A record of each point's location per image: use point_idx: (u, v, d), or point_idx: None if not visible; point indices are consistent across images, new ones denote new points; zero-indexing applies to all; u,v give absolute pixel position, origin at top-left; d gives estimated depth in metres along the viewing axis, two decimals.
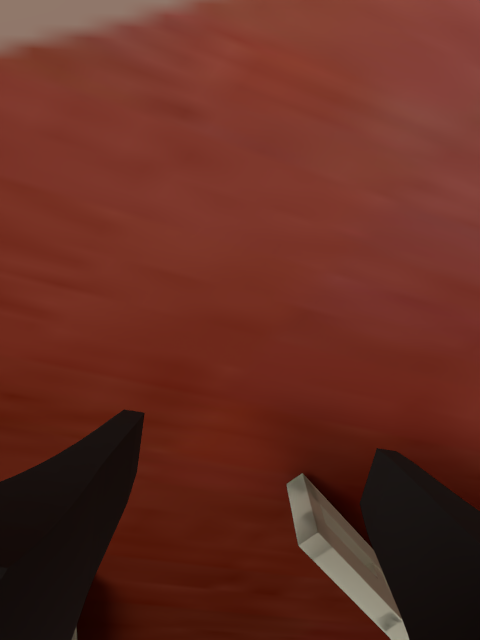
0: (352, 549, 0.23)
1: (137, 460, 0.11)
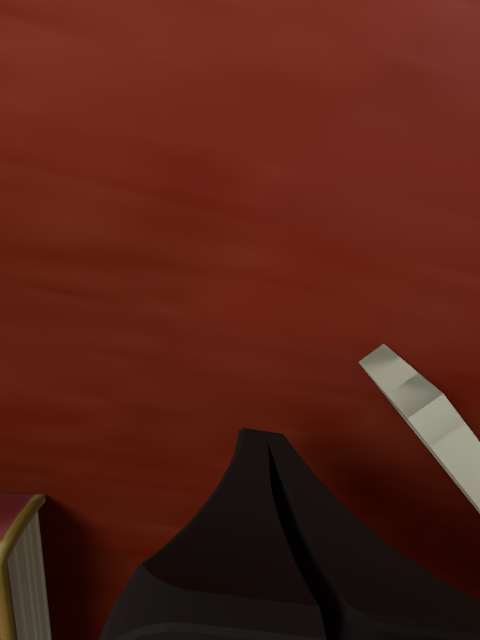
0: None
1: None
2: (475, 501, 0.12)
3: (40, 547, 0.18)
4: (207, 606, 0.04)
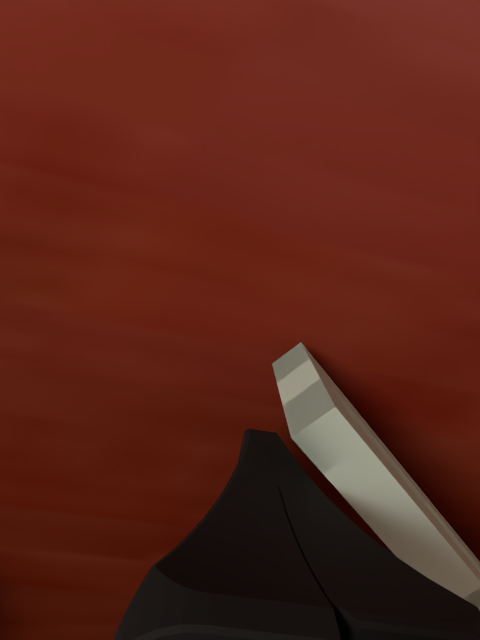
0: None
1: None
2: (385, 541, 0.09)
3: None
4: (222, 608, 0.04)
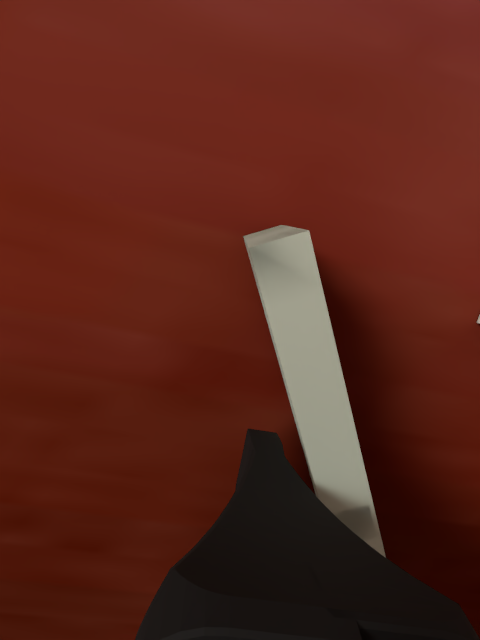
0: None
1: None
2: (296, 413, 0.08)
3: None
4: (243, 610, 0.04)
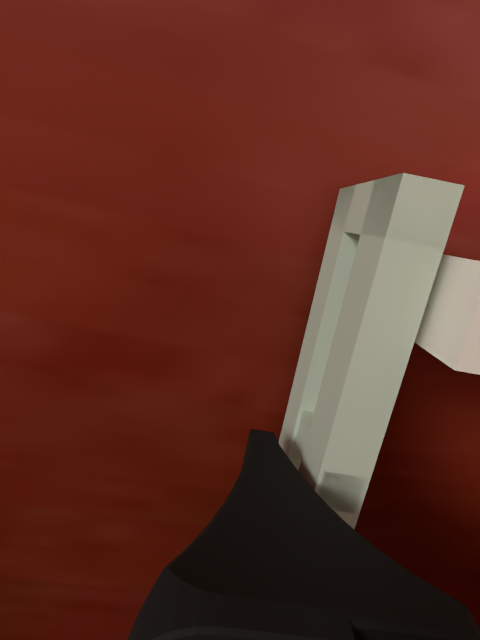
0: None
1: None
2: (353, 358, 0.08)
3: None
4: (236, 610, 0.04)
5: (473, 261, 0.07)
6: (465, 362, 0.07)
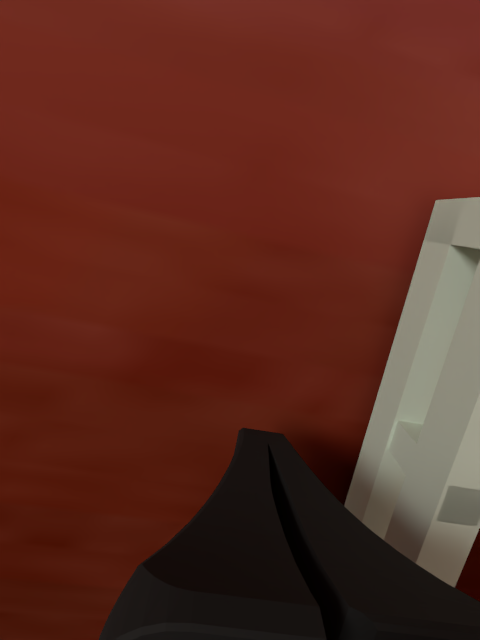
0: (434, 378, 0.11)
1: None
2: None
3: None
4: (207, 606, 0.04)
5: None
6: None
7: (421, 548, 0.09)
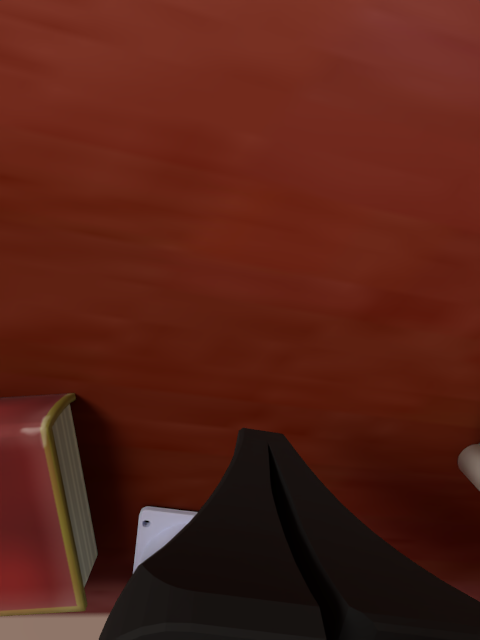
0: None
1: None
2: None
3: (75, 438, 0.23)
4: (207, 606, 0.04)
5: None
6: None
7: None
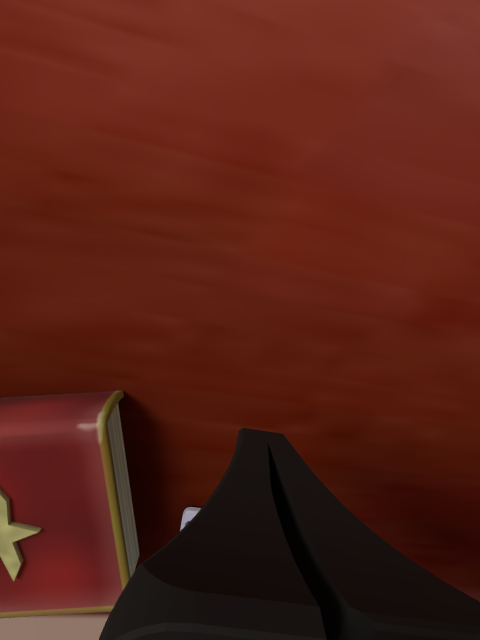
0: None
1: None
2: None
3: (122, 436, 0.23)
4: (207, 606, 0.04)
5: None
6: None
7: None
